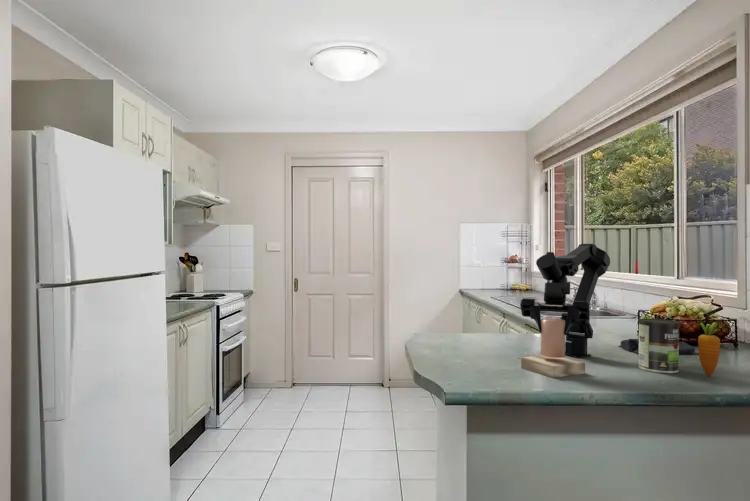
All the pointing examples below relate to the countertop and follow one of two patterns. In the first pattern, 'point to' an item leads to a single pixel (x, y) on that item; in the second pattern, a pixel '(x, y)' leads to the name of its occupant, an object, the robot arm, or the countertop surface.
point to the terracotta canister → (553, 337)
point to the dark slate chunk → (633, 346)
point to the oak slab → (553, 366)
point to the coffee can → (659, 345)
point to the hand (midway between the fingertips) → (552, 332)
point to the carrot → (709, 348)
